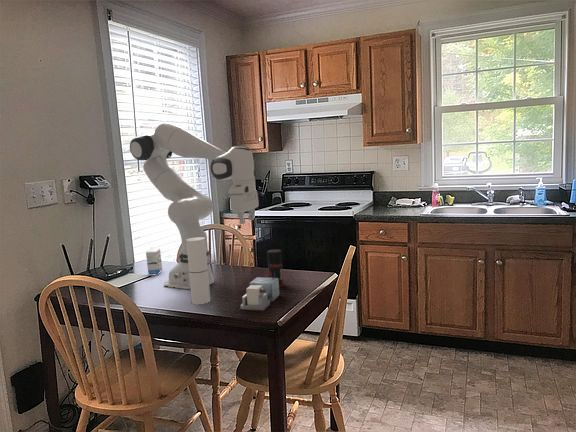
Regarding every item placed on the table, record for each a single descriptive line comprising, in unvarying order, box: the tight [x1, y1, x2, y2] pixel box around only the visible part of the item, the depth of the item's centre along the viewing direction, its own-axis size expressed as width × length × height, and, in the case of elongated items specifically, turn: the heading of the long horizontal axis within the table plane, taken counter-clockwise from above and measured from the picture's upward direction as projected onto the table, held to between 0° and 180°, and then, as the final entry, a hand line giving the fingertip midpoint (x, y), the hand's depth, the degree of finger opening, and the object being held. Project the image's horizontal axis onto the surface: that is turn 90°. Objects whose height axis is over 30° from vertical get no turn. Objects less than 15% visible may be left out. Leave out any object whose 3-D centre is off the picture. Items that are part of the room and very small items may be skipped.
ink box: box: [145, 248, 163, 275], centre depth 235 cm, size 9×5×12 cm, turn 179°
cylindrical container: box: [186, 237, 211, 306], centre depth 183 cm, size 7×7×25 cm
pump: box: [245, 284, 266, 305], centre depth 174 cm, size 4×6×6 cm
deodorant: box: [266, 248, 284, 288], centre depth 200 cm, size 6×6×15 cm
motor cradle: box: [240, 276, 280, 311], centre depth 181 cm, size 20×9×7 cm, turn 162°
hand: (247, 221), depth 189 cm, fingers open, 8 cm apart
